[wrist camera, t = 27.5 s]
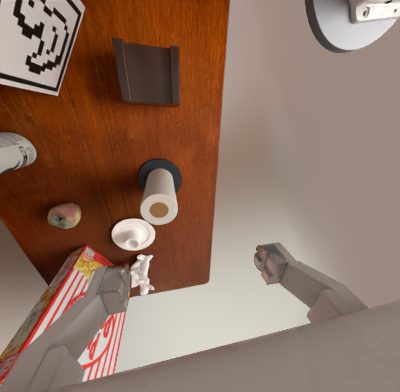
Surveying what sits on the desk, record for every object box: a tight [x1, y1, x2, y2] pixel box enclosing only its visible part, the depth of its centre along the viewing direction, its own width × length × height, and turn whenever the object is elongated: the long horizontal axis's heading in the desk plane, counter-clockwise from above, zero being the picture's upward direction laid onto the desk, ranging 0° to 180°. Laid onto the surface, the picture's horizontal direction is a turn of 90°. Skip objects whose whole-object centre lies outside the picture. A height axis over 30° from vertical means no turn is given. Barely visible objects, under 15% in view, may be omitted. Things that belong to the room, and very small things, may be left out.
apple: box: [47, 203, 81, 229], centre depth 37 cm, size 6×8×6 cm
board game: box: [0, 245, 130, 386], centre depth 38 cm, size 20×6×27 cm, turn 27°
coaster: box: [138, 159, 181, 193], centre depth 41 cm, size 11×11×1 cm
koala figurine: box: [130, 254, 154, 296], centre depth 47 cm, size 8×7×12 cm
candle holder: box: [112, 219, 155, 250], centre depth 45 cm, size 12×12×4 cm
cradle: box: [112, 38, 180, 107], centre depth 28 cm, size 10×8×7 cm
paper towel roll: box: [140, 168, 178, 225], centre depth 34 cm, size 6×15×6 cm
